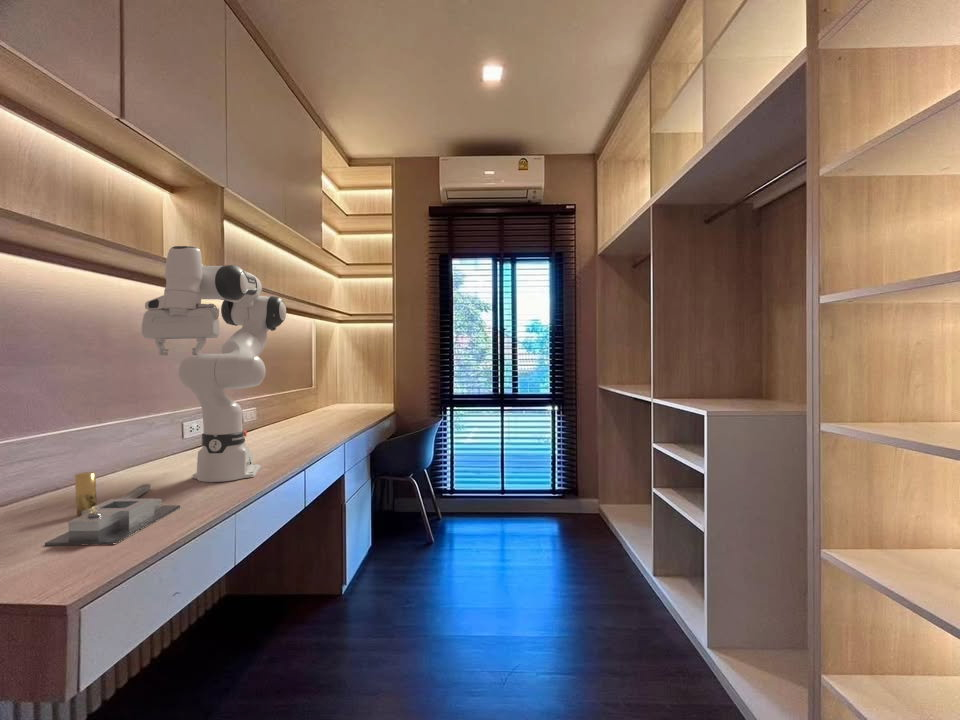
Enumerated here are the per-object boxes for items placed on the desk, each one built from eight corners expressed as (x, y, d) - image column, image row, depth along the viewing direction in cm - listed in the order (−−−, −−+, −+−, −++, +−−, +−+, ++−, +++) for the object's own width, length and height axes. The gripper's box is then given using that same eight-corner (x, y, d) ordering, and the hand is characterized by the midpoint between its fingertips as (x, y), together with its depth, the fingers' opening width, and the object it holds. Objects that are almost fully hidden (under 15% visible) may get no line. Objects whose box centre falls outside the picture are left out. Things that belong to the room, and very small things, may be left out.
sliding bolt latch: (123, 508, 135) (122, 488, 135) (180, 507, 136) (179, 488, 136) (44, 545, 109) (44, 521, 109) (115, 544, 110) (115, 520, 110)
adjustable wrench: (141, 490, 154) (141, 483, 154) (165, 488, 155) (165, 481, 155) (96, 513, 129) (96, 505, 129) (125, 510, 131) (125, 503, 131)
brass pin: (82, 512, 132) (80, 472, 131) (100, 511, 132) (98, 471, 132) (73, 517, 128) (71, 476, 127) (91, 516, 128) (89, 475, 128)
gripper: (225, 305, 147) (223, 355, 145) (155, 307, 149) (152, 356, 147) (212, 301, 140) (209, 353, 139) (139, 302, 142) (136, 354, 141)
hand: (179, 355), depth 143 cm, fingers open, 8 cm apart
